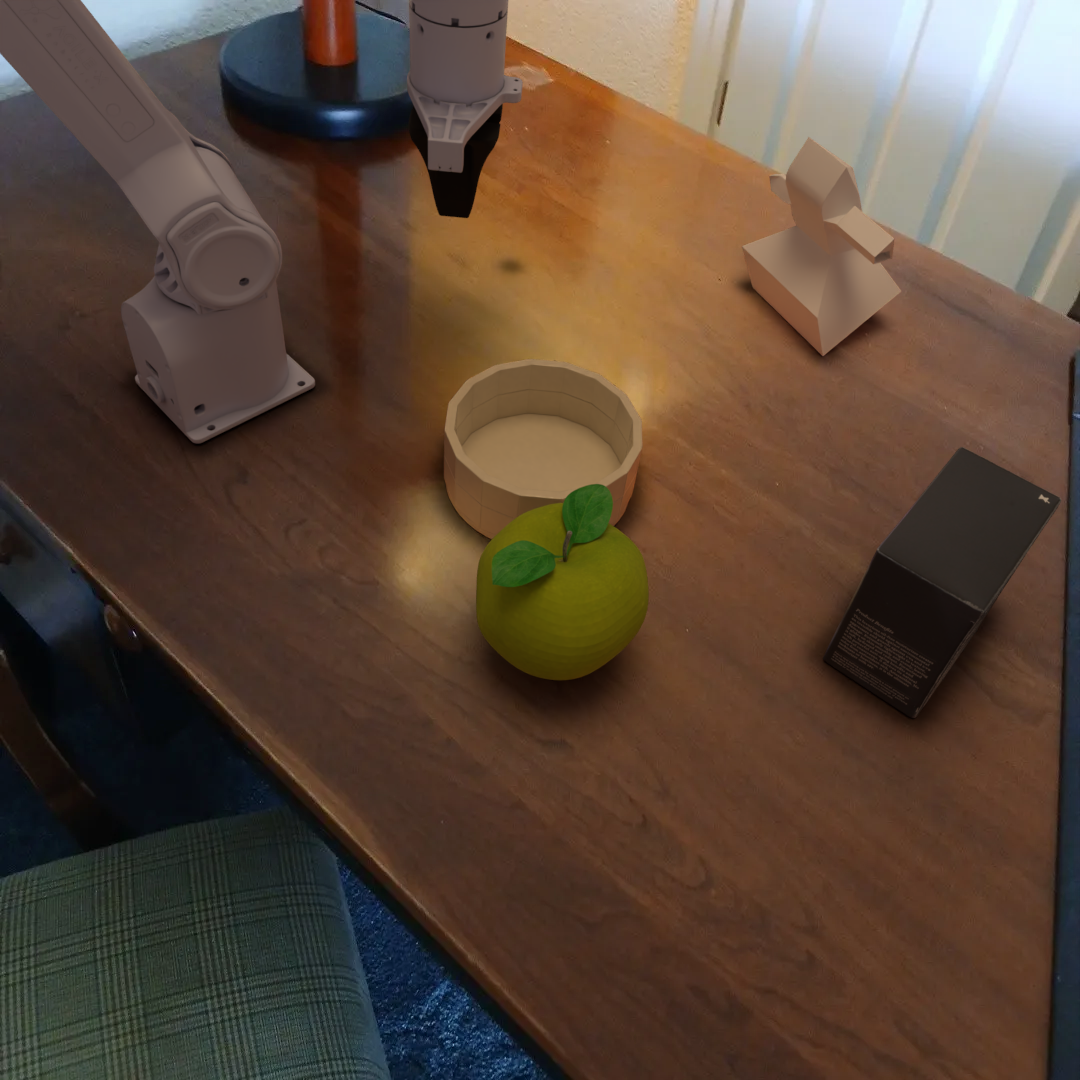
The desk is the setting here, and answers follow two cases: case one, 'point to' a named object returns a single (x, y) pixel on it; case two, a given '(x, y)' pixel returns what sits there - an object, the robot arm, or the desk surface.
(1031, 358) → the desk surface
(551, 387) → the bowl
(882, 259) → the beige block sculpture
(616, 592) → the fruit
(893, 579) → the small box
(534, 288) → the desk surface
